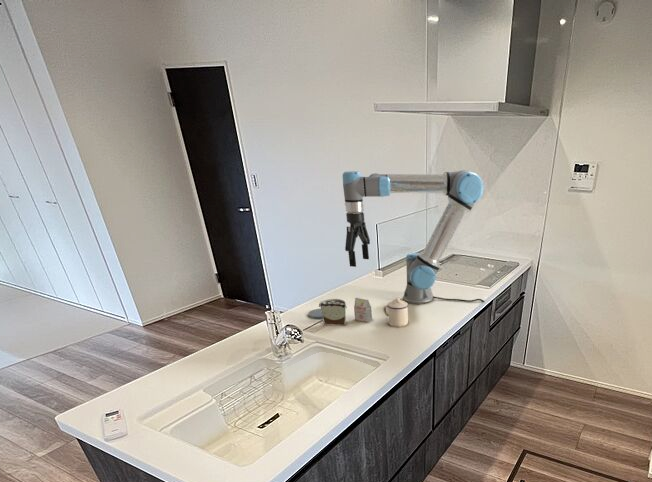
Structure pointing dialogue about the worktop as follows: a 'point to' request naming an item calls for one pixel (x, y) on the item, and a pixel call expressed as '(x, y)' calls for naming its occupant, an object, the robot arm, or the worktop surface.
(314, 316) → the saucer
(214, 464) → the worktop surface
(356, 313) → the tea bag
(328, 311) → the food container
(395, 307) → the teacup with lid
